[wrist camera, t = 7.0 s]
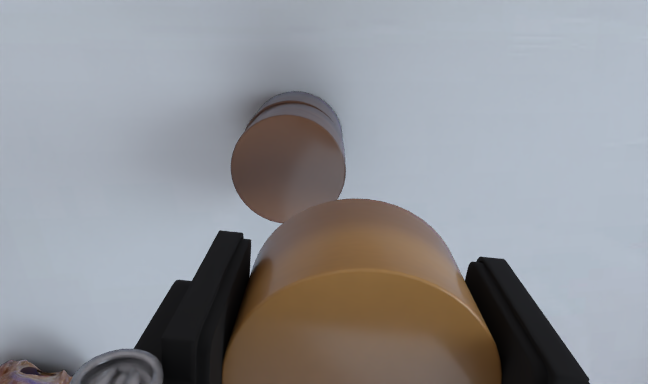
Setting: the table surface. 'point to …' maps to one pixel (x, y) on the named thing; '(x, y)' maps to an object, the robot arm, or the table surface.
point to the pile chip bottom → (302, 99)
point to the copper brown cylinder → (358, 305)
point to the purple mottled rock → (30, 374)
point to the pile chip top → (288, 161)
